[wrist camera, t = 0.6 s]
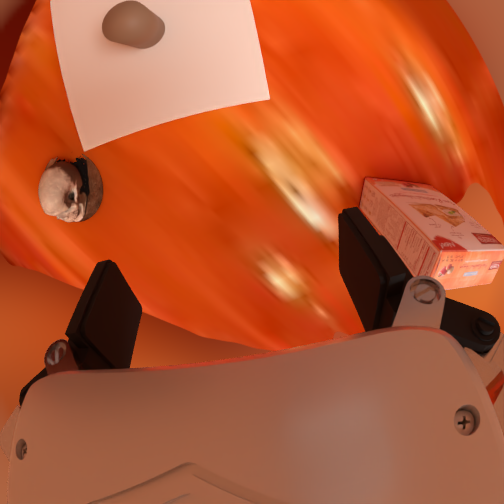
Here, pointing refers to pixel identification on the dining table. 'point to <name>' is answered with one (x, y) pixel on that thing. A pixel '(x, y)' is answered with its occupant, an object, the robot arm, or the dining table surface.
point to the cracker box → (431, 233)
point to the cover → (154, 61)
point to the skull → (71, 189)
